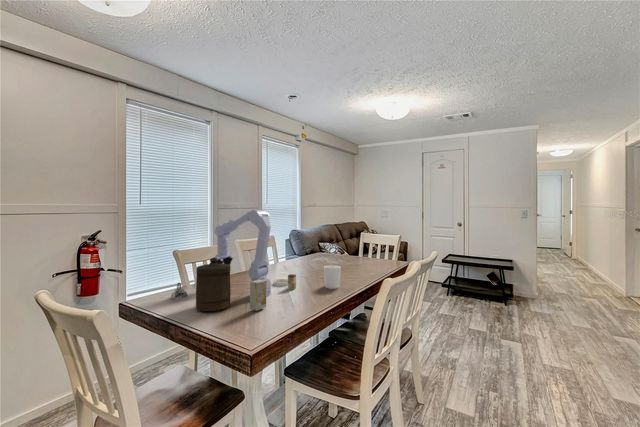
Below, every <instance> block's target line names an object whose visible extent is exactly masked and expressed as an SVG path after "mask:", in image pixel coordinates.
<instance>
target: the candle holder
mask: <svg viewBox="0 0 640 427" xmlns="http://www.w3.org/2000/svg"><path fill="white" fill-rule="evenodd" d="M341 269H342V266H341V265H335V264H331V265H330V264H328V265H324V266H323V277H324V278H323V279H324V288H326V289H331V290H333V289H334V290H336V289H339V288H340V286H341V271H342V270H341Z"/></svg>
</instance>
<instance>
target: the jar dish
mask: <svg viewBox="0 0 640 427" xmlns="http://www.w3.org/2000/svg"><path fill="white" fill-rule="evenodd" d="M272 282H273V285H274V286H275V287H288V278H277V279H275V280H273V281H272Z"/></svg>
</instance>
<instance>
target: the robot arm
mask: <svg viewBox="0 0 640 427" xmlns="http://www.w3.org/2000/svg"><path fill="white" fill-rule="evenodd" d="M270 217H271V216H270V214H269V212H267V210H265V209H261V210H256V209H252V210H250V211H247V213H245V214H243V215H242V216H240V217H239V218H237V219H234V218H233V219H232V218H231V219H229V220H228V221H227V222H223V223H222V225H221V224H218V225H217V226H216V227H215V229H214V233H215V236H217V248H216V249H217V254H216V255H215V256H213V258H217V259H218V261H217V263H218V264H228V265H230V266H231V263H232V262H233V260H234V259H233V258H234V257H232V253H229V238H230V234H231V233H233V232H234V231H236V230H239V228H240V225H243V224H245V223H248V222H250V223H251V224H253V225H254V226H255V227H257V229H258V235H257V240H256V241H257V242H256V249H255V255H254V259H253V260H252V262H251V264H250V267H249V269H248V271H247V274H248V276H249V278H250V280H251V281H255V280H260V279H261V280H266V298H268V297H269V296H270V295H272V293H271V292H272V291H271V290H272V286H271V285H272V284H271V283H272V282H271V279H270V278H267V275H268V273H269V263H268V262H267V260H266V259H267V254H268V247H269V241H270V240H269V239H270V233H271V222H270ZM251 281H250V282H251ZM247 297H249V298H250V294H248V296H247Z"/></svg>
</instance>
